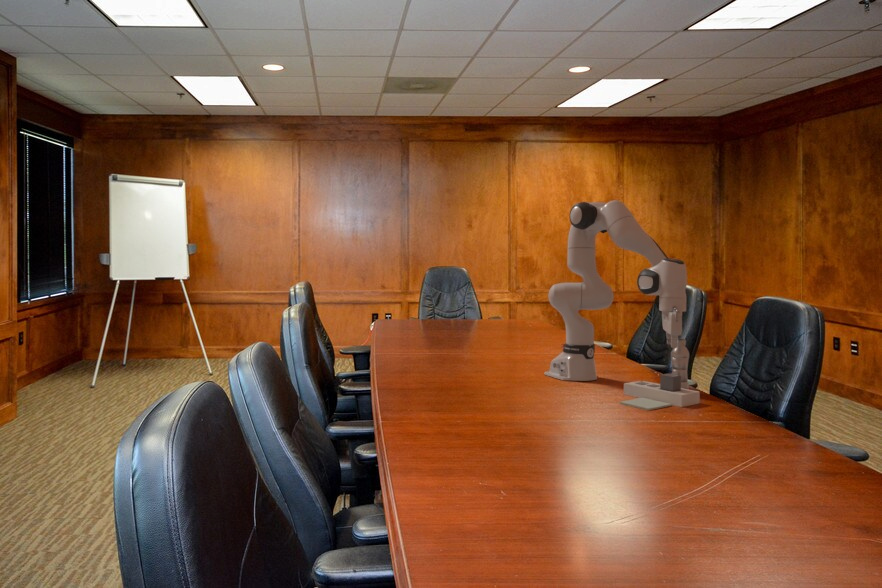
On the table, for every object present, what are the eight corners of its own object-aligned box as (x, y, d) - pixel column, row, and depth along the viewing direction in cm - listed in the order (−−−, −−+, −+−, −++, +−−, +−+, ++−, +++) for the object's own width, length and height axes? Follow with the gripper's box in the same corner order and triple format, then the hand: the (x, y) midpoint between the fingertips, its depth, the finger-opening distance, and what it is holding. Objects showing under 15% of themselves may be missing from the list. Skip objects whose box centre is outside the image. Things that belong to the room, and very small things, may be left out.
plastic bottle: (685, 392, 242) (687, 338, 241) (690, 396, 236) (692, 340, 235) (667, 392, 243) (668, 338, 242) (672, 396, 236) (673, 340, 235)
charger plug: (659, 400, 229) (660, 374, 229) (668, 398, 232) (668, 373, 231) (672, 403, 225) (673, 376, 225) (680, 401, 228) (681, 375, 227)
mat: (619, 403, 224) (619, 401, 224) (642, 399, 231) (642, 397, 231) (648, 410, 214) (648, 408, 214) (671, 405, 221) (671, 404, 221)
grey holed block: (623, 394, 239) (623, 382, 238) (641, 391, 244) (641, 379, 244) (681, 407, 219) (681, 394, 219) (699, 403, 225) (699, 390, 224)
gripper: (687, 308, 216) (686, 350, 216) (677, 304, 236) (677, 343, 236) (667, 307, 217) (666, 349, 218) (659, 304, 237) (658, 342, 238)
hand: (671, 346), depth 227 cm, fingers open, 8 cm apart
